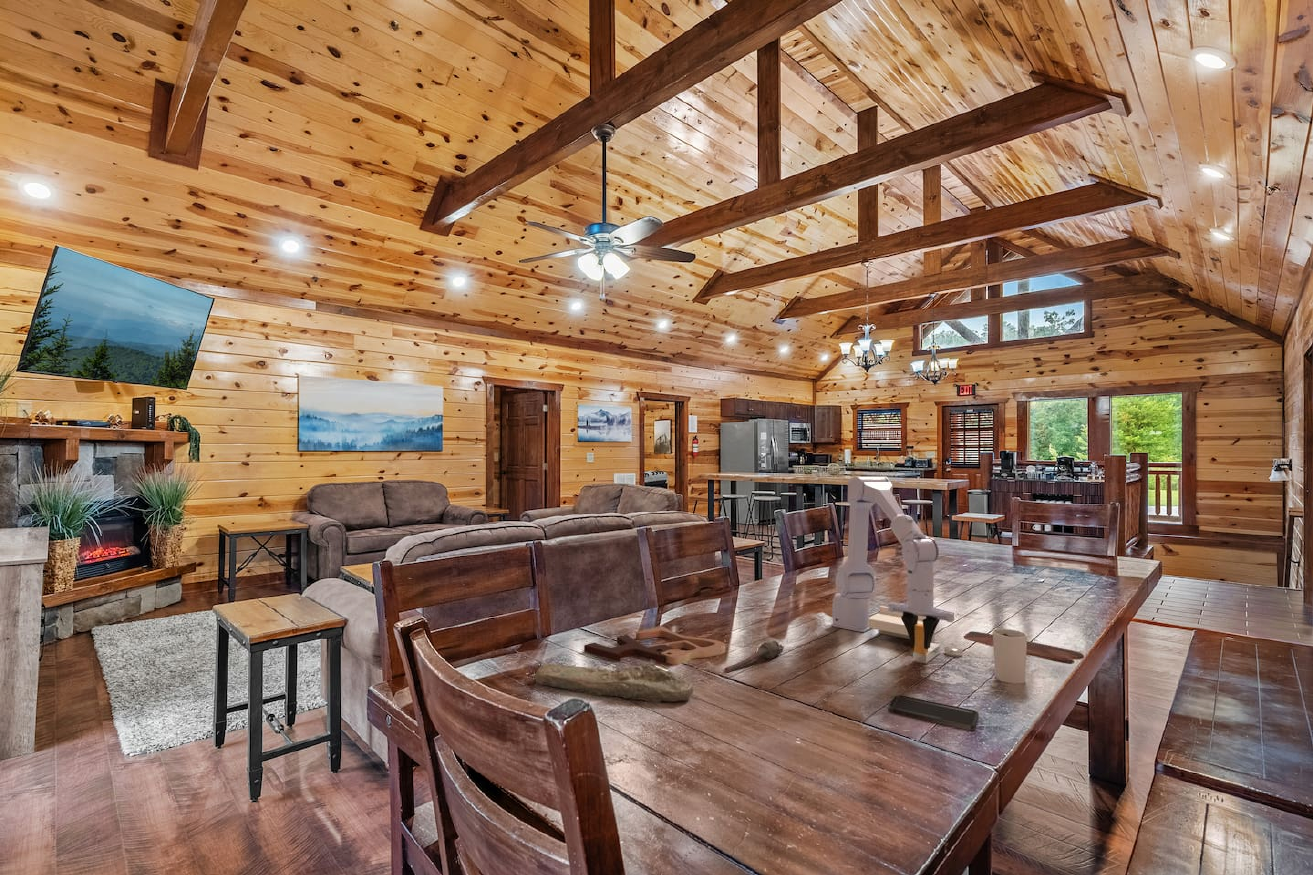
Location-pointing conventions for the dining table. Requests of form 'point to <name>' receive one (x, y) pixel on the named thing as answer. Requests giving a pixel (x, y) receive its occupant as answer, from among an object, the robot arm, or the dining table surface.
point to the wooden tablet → (1032, 648)
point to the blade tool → (919, 651)
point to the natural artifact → (759, 655)
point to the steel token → (953, 651)
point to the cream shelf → (891, 623)
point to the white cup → (1010, 655)
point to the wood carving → (659, 647)
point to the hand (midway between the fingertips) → (920, 646)
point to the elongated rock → (618, 682)
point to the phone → (934, 712)
